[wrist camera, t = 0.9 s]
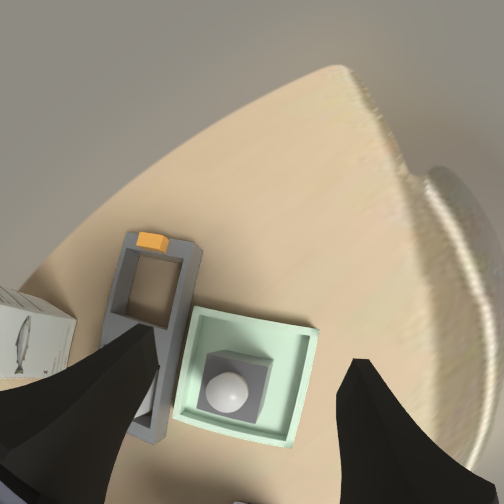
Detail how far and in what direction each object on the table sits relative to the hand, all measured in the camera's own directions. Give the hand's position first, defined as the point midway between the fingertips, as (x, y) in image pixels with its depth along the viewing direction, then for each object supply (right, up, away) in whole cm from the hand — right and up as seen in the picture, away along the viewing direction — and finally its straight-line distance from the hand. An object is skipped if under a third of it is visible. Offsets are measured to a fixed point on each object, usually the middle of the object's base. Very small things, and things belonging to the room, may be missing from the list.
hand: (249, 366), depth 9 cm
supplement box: (-23, -6, +16) cm, 28 cm away
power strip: (-9, -4, +14) cm, 17 cm away
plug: (0, -6, +12) cm, 13 cm away
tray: (0, -6, +12) cm, 14 cm away
